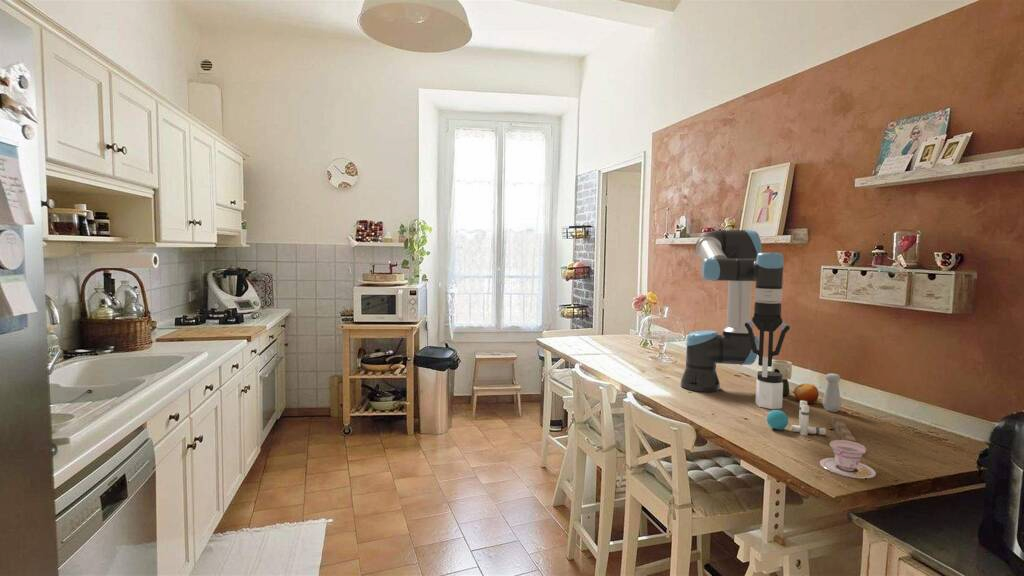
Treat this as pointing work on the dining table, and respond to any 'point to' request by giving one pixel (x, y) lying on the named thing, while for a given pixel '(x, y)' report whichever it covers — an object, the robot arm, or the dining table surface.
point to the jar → (769, 390)
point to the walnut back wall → (842, 429)
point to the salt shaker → (832, 393)
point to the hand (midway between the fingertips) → (764, 376)
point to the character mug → (783, 372)
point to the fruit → (806, 393)
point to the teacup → (846, 459)
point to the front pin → (810, 430)
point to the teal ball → (777, 419)
